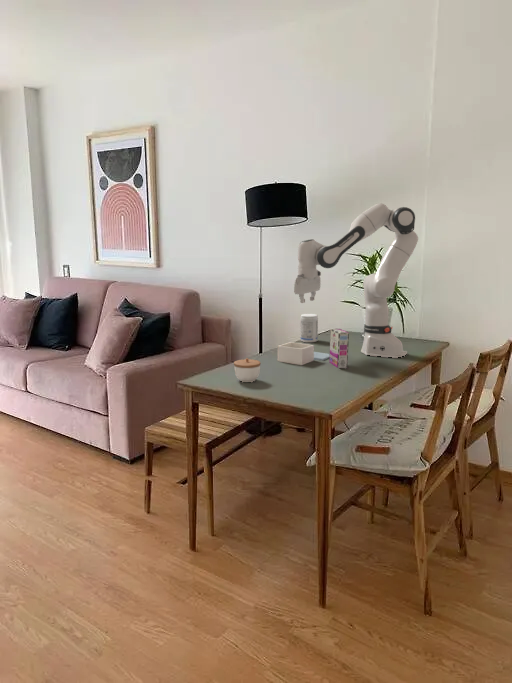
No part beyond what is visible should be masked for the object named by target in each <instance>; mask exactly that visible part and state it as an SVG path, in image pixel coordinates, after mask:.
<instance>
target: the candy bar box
mask: <svg viewBox="0 0 512 683" xmlns="http://www.w3.org/2000/svg"><path fill="white" fill-rule="evenodd" d="M329 336H330V337H329V354H330V358H329V363H330V364H332V365H333V366H335V367H336V368H338V370H347V369H348V360H349V343H350V342H349V340H350V339H349V338H350V332H348V331H346V330H344V329H342V328H330V335H329ZM346 368H347V369H346Z"/></svg>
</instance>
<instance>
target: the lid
mask: <svg viewBox="0 0 512 683" xmlns="http://www.w3.org/2000/svg"><path fill="white" fill-rule="evenodd" d="M328 359H330V353H324V352H319V351H314V360H315V361H326V360H328Z"/></svg>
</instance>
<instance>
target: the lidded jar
mask: <svg viewBox="0 0 512 683" xmlns="http://www.w3.org/2000/svg"><path fill="white" fill-rule="evenodd" d="M233 366H234V374H235V377H236V378H237V379H238V380H239V382H240V381H242V382H241V383H243V382H251V383H254V382H255V381H256V379H258V377H259V375H260V372H261V361H260V360H257V359H250V358H248V357H246V358H245V359H238V360H235V361H234V362H233ZM253 381H254V382H253Z"/></svg>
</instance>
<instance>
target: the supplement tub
mask: <svg viewBox="0 0 512 683" xmlns="http://www.w3.org/2000/svg"><path fill="white" fill-rule="evenodd" d="M318 321H319V318H318V314H316V313H302V314H301V315H300V341H301V342H303V343H315V342H317V341H319V340H318V337H319V333H318V331H319V329H318V328H319V322H318Z"/></svg>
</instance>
